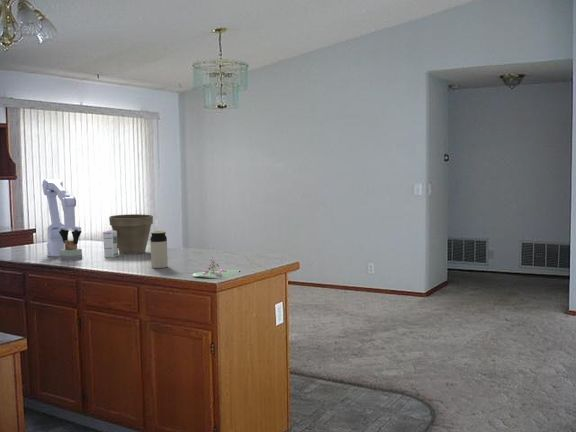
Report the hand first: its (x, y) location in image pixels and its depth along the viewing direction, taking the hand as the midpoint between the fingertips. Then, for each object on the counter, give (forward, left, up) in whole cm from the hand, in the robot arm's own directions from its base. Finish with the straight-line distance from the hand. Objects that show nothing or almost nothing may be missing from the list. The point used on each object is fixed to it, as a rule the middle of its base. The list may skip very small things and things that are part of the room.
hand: (70, 243), depth 347 cm
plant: (+102, -11, -10) cm, 103 cm away
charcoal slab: (0, 0, -9) cm, 9 cm away
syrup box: (+14, +16, -9) cm, 23 cm away
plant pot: (+16, +32, -9) cm, 37 cm away
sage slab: (0, 0, -6) cm, 6 cm away
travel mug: (+64, -5, -9) cm, 65 cm away
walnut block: (0, 0, -3) cm, 3 cm away
